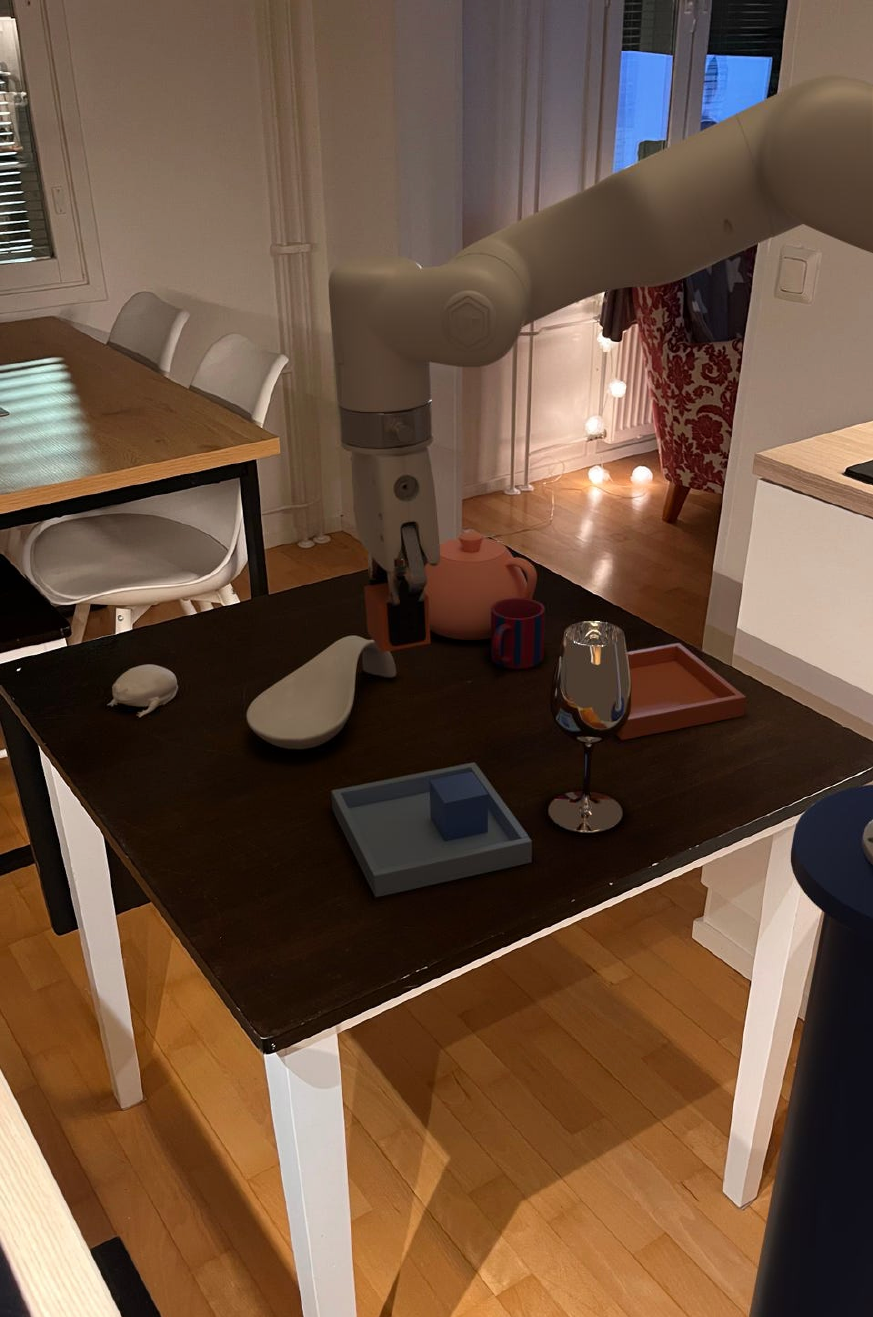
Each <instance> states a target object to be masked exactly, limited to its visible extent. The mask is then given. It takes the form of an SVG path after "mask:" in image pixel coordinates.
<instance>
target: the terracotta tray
mask: <svg viewBox="0 0 873 1317" xmlns="http://www.w3.org/2000/svg"><path fill="white" fill-rule="evenodd" d="M627 653H628V659H629V666H630V673H631V682H632V706H631V713H630V715H629V718H628V720H627V722H626V724H625V725H624V726H623V728H622V729H621V730H620V731H619V732H618V733H617V734H616V735H615V736H617V737H618V738H619V739H620V741H624V740H629V739H635V738H639V737H640V738H641V737H645V736H649V735H656V734H660V733H664V732H671V731H675V730H680V729H685V728H690V727H695V726H699V725H704V724H705V725H706V724H710V723H715V722H718V721H725V720H730V719H735V718H739V717H744V716H745V708H746V700H747V696H746V695H744V694H743V693H741V691H740V690H738V689H737V688H736V687H734V686H733V685H732V684H731V683H729V682H728V681H727V680H726V679H724V678H723V677H722V676H721V675H720V674H718V673H717V672H716V671H715V670H713V669H712V668H711V667H710V666H708V665H707V664H706V663H705V662H703V660H701V659H700V658H699V657H698V656H696V655H695V654H694V653H693V652H691V651H690V650H689V649H687V648H686V647H685V646H684V645H683V644H682V643H680V642H676V643H671V644H665V645H659V646H654V647H653V646H652V647H647V648H641V649H637V650H631V651H627Z"/></svg>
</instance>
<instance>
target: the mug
mask: <svg viewBox="0 0 873 1317" xmlns="http://www.w3.org/2000/svg"><path fill="white" fill-rule="evenodd" d="M545 613H546V608H545V606H544V605H543V604H542V603H541V602H539V601H537V600H534V599H532V600H531V599H526V598H510V599H504V600H501V601H498V602H496V603H495V604H493V605H492V607H491V638H490V659H491V661H492V662H493V663H494V664H495V665H497V666H499V667H501V668H506V669H512V670H523V669H530V668H533V667H536V666H538V665H539V664H540V663H542V662H543V660H544V656H545V655H544V654H545V621H546V620H545V618H546V615H545Z"/></svg>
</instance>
